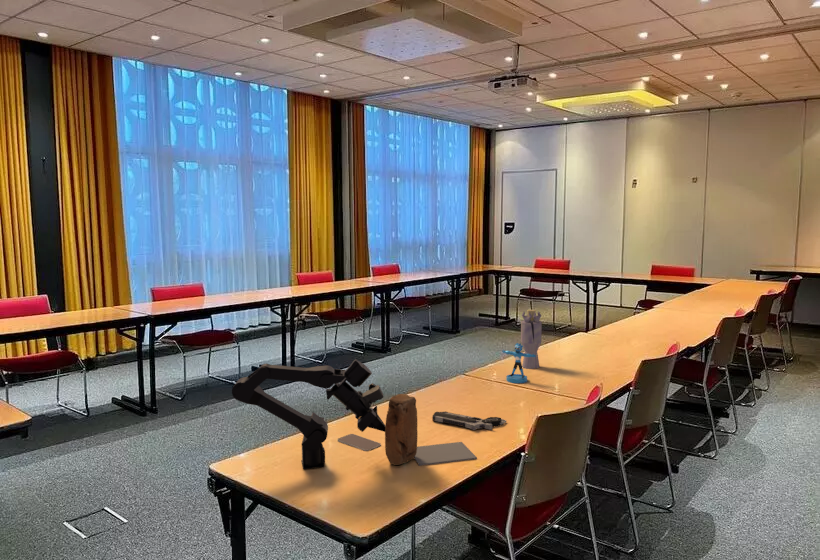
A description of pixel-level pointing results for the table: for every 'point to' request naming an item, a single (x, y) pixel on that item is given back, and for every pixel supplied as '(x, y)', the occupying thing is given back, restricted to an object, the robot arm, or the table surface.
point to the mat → (443, 453)
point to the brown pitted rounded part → (401, 429)
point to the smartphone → (359, 442)
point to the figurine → (517, 377)
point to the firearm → (467, 420)
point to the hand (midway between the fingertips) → (386, 430)
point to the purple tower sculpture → (531, 338)
